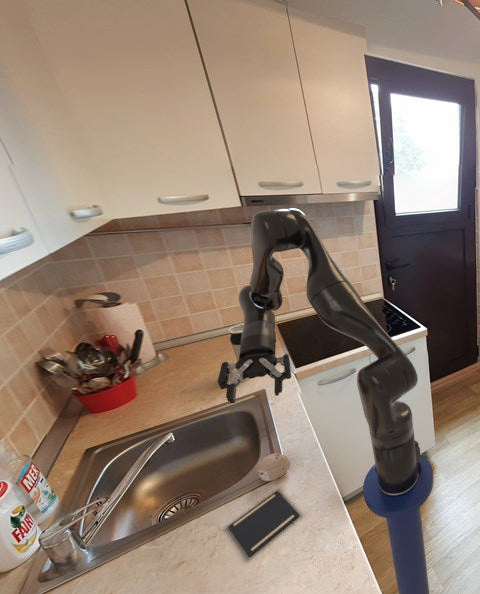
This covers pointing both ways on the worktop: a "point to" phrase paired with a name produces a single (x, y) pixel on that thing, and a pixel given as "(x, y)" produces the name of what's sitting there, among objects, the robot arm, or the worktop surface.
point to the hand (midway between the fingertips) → (255, 397)
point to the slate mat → (263, 523)
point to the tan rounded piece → (272, 466)
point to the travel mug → (236, 338)
